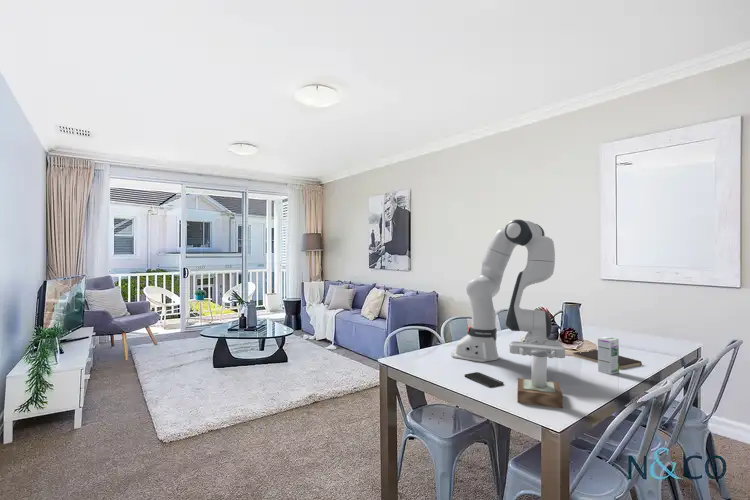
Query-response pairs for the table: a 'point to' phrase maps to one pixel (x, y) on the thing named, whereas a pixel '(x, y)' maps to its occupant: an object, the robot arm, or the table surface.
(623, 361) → the hardcover book
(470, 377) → the phone
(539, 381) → the canister
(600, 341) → the syrup box
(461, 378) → the table surface
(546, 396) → the walnut base
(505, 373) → the table surface
